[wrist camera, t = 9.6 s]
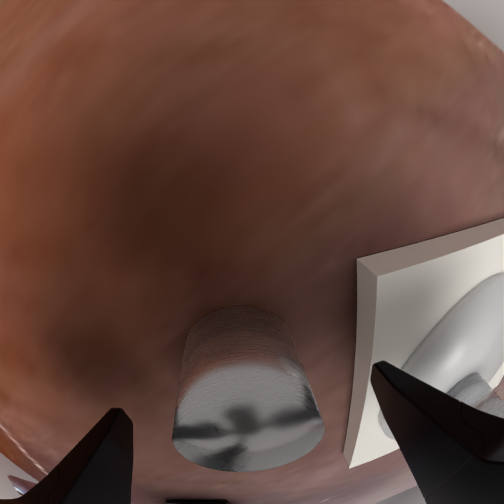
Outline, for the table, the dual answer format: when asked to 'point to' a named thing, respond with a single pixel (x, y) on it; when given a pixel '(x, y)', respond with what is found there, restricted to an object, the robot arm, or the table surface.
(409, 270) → the scale
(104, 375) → the table surface
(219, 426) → the cylinder
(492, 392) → the cylinder
